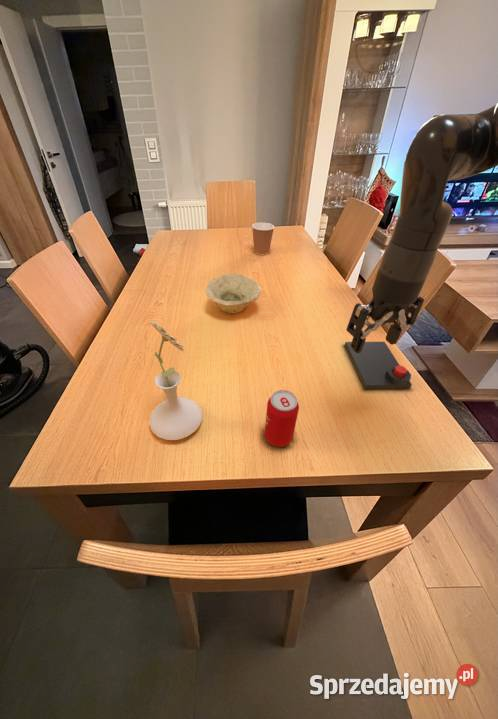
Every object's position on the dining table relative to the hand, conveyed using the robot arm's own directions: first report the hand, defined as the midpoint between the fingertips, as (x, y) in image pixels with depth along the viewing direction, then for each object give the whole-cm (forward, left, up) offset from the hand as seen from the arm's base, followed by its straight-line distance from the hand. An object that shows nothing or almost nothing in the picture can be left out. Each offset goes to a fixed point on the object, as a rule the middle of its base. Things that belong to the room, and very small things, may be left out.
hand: (373, 346), depth 60 cm
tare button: (-7, -15, -16) cm, 23 cm away
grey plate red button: (0, -18, -19) cm, 26 cm away
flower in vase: (+31, +28, -19) cm, 45 cm away
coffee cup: (+70, -67, -19) cm, 99 cm away
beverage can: (+10, +18, -19) cm, 28 cm away
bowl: (+50, -18, -19) cm, 56 cm away
